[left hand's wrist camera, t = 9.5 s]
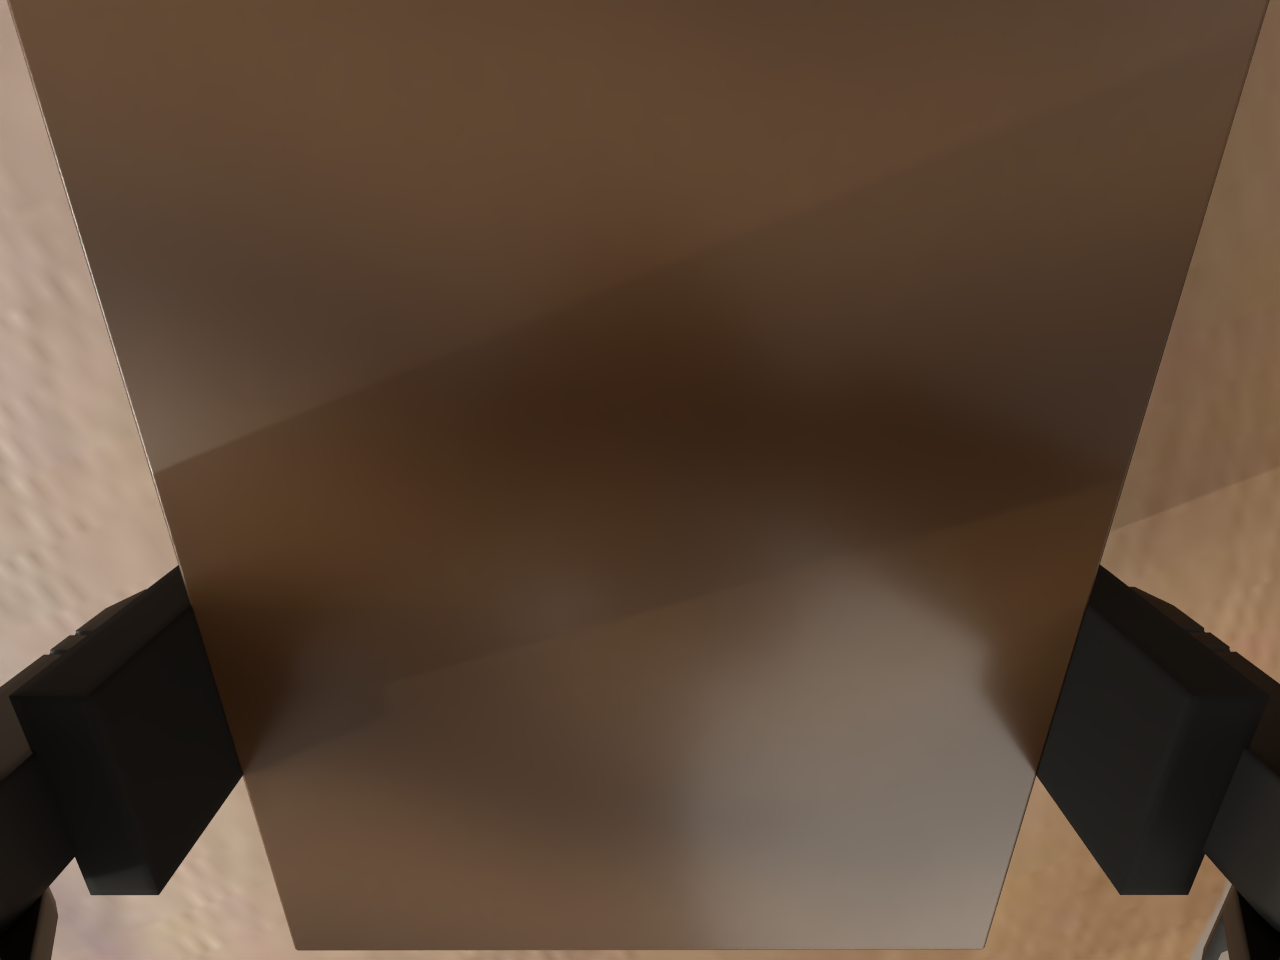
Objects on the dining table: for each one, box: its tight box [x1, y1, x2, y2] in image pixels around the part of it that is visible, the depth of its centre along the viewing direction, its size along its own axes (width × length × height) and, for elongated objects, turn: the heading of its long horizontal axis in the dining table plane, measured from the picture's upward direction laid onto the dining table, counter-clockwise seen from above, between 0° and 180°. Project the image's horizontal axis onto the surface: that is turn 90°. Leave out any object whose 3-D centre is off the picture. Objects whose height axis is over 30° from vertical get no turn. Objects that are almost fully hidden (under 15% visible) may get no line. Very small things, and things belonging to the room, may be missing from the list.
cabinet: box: [7, 0, 1269, 950], centre depth 11 cm, size 19×11×8 cm, turn 0°
